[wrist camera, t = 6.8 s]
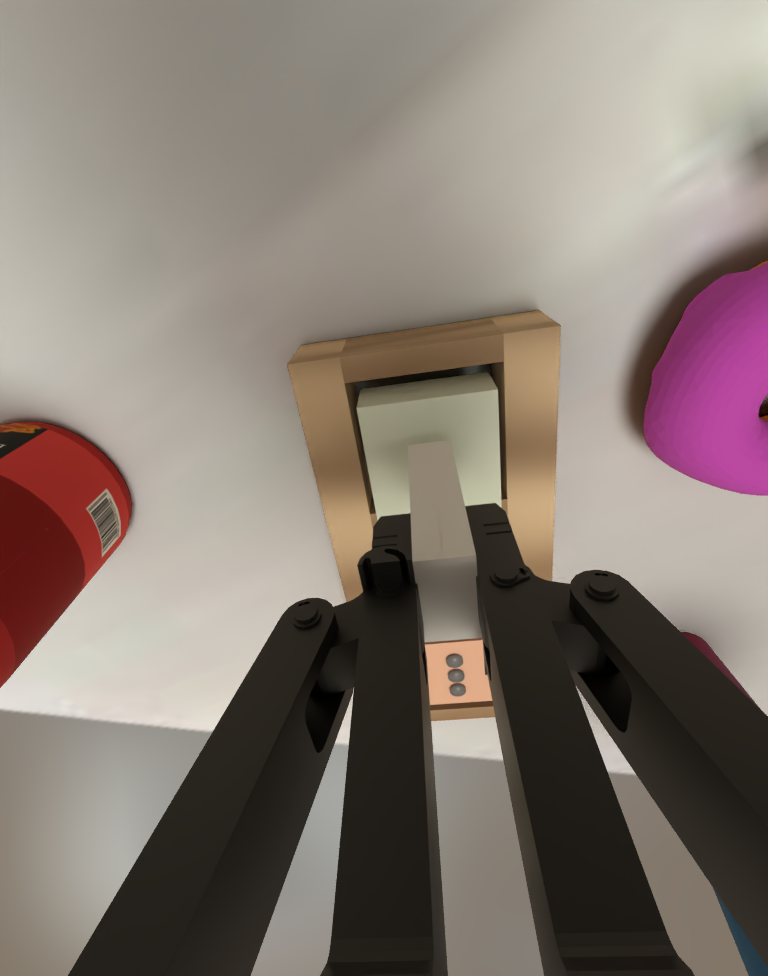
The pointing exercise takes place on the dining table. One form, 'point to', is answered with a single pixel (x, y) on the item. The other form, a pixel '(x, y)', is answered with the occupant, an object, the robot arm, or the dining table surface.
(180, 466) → the dining table surface
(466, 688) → the button
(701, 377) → the donut
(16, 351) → the dining table surface
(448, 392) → the button
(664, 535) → the dining table surface
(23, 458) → the canned food
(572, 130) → the dining table surface
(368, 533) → the panel
